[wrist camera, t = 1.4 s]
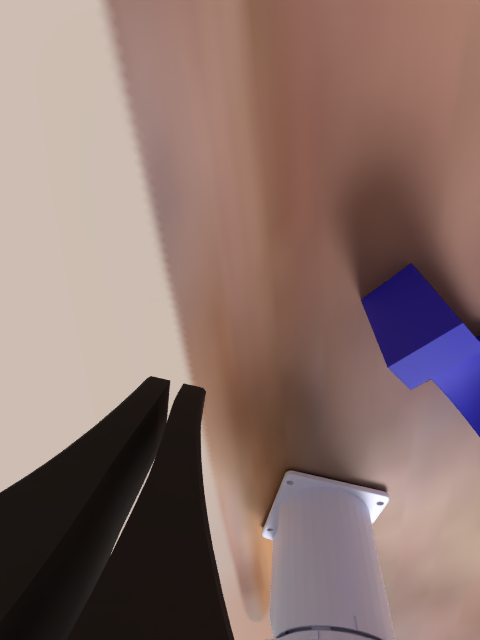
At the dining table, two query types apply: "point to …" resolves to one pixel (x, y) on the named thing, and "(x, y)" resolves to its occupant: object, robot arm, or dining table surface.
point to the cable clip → (426, 340)
